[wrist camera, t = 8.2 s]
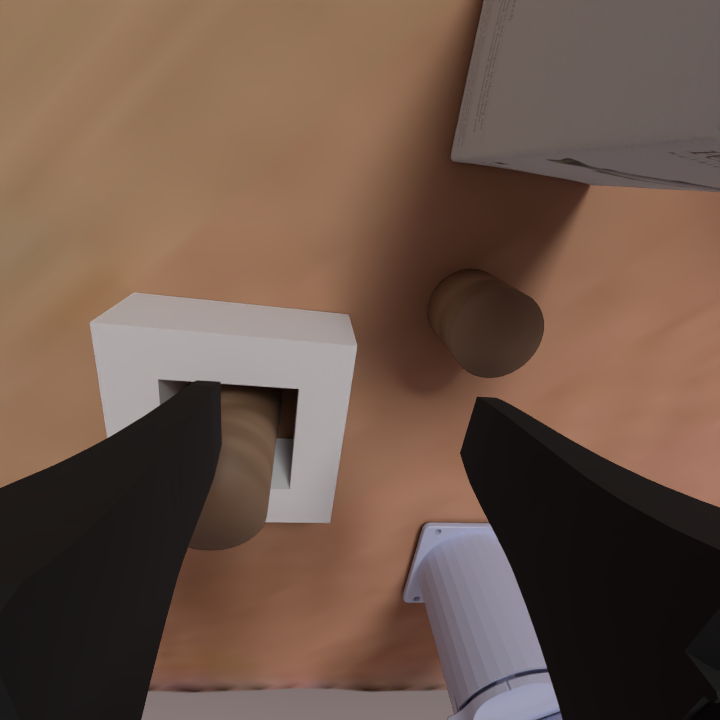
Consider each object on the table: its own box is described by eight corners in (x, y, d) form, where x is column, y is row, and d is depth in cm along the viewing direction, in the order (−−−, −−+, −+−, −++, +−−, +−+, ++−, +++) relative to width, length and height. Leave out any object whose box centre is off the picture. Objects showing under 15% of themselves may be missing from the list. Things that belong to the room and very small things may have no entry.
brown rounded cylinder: (284, 364, 20) (270, 468, 13) (279, 427, 22) (264, 550, 15) (204, 357, 20) (143, 463, 12) (205, 422, 21) (152, 549, 14)
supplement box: (444, 164, 17) (708, 144, 6) (493, -64, 14) (1266, -1063, 3) (592, 190, 18) (1049, 218, 7) (667, -13, 15) (1696, -549, 4)
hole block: (348, 314, 20) (357, 346, 16) (326, 470, 24) (329, 522, 20) (133, 292, 18) (89, 322, 14) (150, 463, 22) (119, 520, 18)
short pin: (512, 273, 20) (557, 296, 16) (490, 345, 21) (526, 380, 18) (437, 264, 19) (466, 285, 15) (420, 339, 21) (443, 374, 17)
